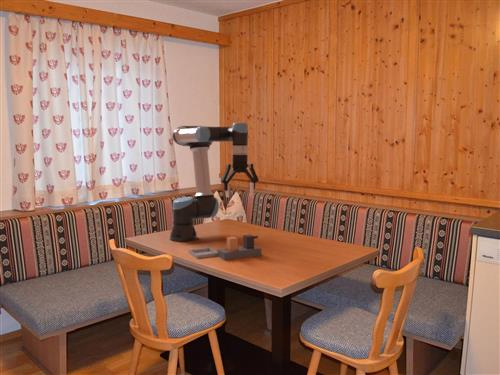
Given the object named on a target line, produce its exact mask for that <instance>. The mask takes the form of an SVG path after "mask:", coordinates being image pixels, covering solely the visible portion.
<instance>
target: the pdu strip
mask: <svg viewBox="0 0 500 375" xmlns="http://www.w3.org/2000/svg"><path fill="white" fill-rule="evenodd" d="M255 239H259V236H258V235H252V234H243V236H242V245H241V246H240V245H238V251H231V252H229V251H227V247H224V248H223V247H222V248H217V252H218V256H217V257H218V258H220V259H221V260H223V261H228V260H237V259H243V258H244V259H245V258H251V257H253V258H257V257H262V248H261V247H260V246H257V245H255Z"/></svg>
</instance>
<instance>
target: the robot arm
mask: <svg viewBox="0 0 500 375" xmlns="http://www.w3.org/2000/svg"><path fill="white" fill-rule="evenodd" d="M171 136H172V140H173V142H174V143H175V144H177V145H179V146H181V147H189V151H191V152H192V158H193V160H192V161H193V170H194V172H193V173H194V182H195V192H196V193H195V194H194V195H193V196H194V197H193V196H182V197H179V198H175V199H174V200H173V201H172V208H171V209H172V228H171V232H170V235H169V240H171V241H174V242H192V241H194V240H196V239H197V238H198V236H197V231H196V228H195V225H194V221H195V220H201V219H211V218H214V217H216V215H217V214H218V212H219V208H220V202H219V200H218V198H217V197H215V194H214V193H213V192H212V188H211V176H210V166H209V165H210V164H209V154H208V151H209V150H210V146H212V145H213V142H214V143H215V142H219V143H221V142H223V143H224V142H226V143H227V142H232V164H230V163H227V164H226V168H225V170H224V173H223V174H222V177H221V179H220V183H222V184H223V185H224V186H223V190H224V191H225V197H226V198H230V184H229V182H231V180H232V179H233V177H234V176H235V175H236V174H240V173H243V174H244V175H245V176H246V177H247V178H248V179H249V180H250V182H249V196H251V197H253V196H255V192H254V191H255V189H256V183H257V182H259V181H260V180H259V178H258V175H257V173H256V172H257V171H256V170H255V168H254V163H251V162H250V163H248V160H249V159H248V156H249V155H248V151H249V150H248V142H249V138H248V136H249V129H248V123H247V122H233V124H232V126H205V125H180V126H178V127H176V128H175V129H174V130H173V131H172V135H171ZM247 168H249V170H248V169H247ZM230 171H231V172H230ZM249 171H250V172H249Z"/></svg>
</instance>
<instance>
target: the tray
mask: <svg viewBox="0 0 500 375" xmlns="http://www.w3.org/2000/svg"><path fill="white" fill-rule="evenodd" d="M188 253H189V255H191V256H192V257H194V258H195V259H204V258H210V257H212V258H214V257H218V251H217V250H215V249H213V248H211V247H209V246H208V247H202V248H195V249H193V248H192V249H189V250H188Z"/></svg>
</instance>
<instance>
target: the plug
mask: <svg viewBox="0 0 500 375" xmlns="http://www.w3.org/2000/svg"><path fill="white" fill-rule="evenodd" d="M238 239H239V238H238V237H236V236H227V237H226V248H227V251H229V252H231V251H238V246H239V245H238V244H239V240H238Z"/></svg>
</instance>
